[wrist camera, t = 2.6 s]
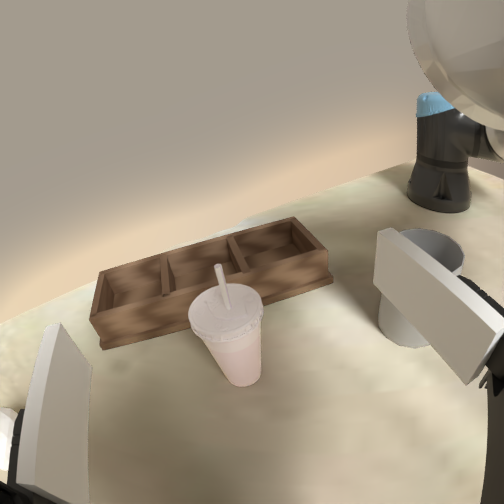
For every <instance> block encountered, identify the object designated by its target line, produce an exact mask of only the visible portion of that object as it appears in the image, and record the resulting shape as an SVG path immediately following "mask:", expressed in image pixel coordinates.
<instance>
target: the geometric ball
mask: <svg viewBox="0 0 504 504" xmlns="http://www.w3.org/2000/svg"><path fill="white" fill-rule="evenodd" d="M17 415H18V413H16V412H15V411H14V410H12V409H11V408H5V407H0V469H2V470H6V471H8V467H9V457H10V449H11V447H12V444H11V441H12V436H13V428H14V422H15V420H16V418H17Z"/></svg>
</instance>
